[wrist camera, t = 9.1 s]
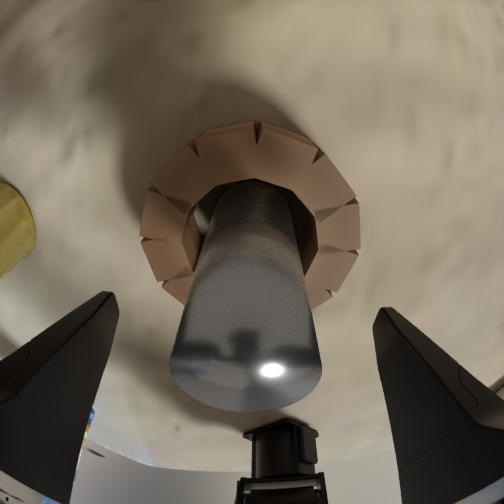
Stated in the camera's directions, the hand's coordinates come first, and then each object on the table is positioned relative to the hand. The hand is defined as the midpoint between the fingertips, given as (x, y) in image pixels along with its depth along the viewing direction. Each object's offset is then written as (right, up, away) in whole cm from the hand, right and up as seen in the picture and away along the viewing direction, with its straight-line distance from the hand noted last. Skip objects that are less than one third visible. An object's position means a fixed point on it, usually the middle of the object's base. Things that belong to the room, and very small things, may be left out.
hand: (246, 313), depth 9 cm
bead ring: (0, +4, +6) cm, 8 cm away
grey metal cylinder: (0, +4, +6) cm, 8 cm away
